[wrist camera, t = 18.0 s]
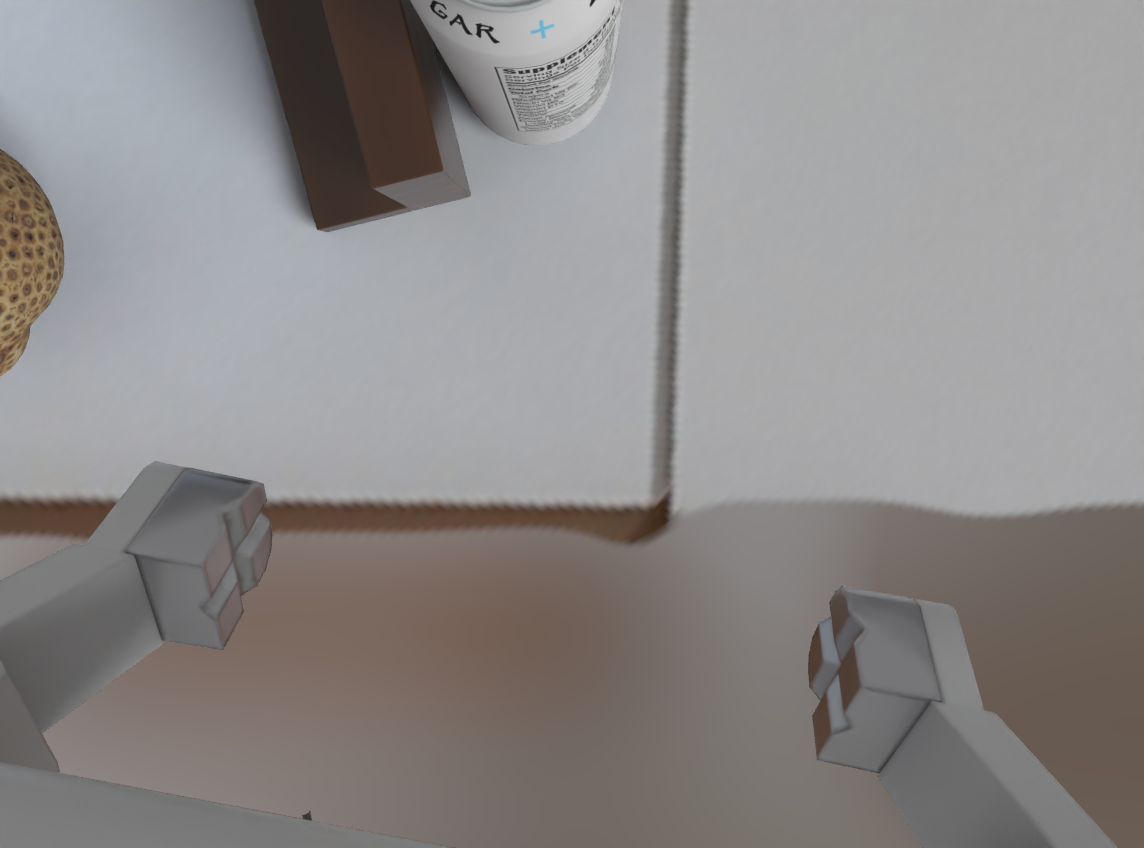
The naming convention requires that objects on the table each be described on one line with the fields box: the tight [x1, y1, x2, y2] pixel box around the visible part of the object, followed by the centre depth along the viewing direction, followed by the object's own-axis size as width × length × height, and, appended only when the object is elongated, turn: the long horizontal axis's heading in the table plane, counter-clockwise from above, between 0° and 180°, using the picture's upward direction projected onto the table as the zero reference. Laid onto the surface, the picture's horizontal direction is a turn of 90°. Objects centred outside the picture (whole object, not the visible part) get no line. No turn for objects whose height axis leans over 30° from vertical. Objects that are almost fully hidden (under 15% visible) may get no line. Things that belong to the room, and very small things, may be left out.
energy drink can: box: [410, 0, 623, 145], centre depth 27 cm, size 6×6×15 cm
